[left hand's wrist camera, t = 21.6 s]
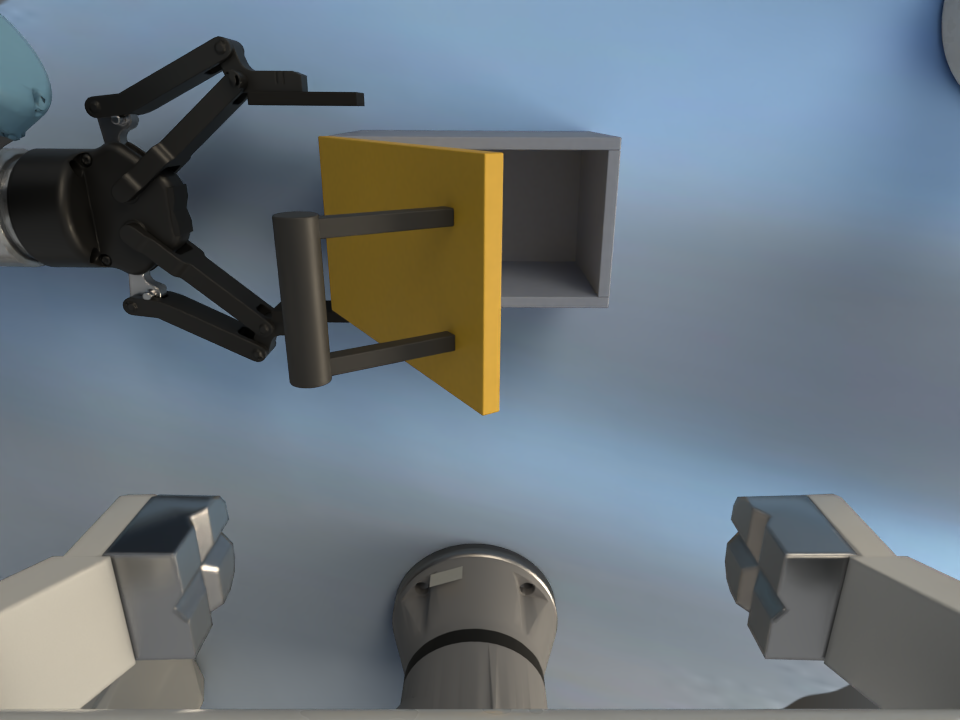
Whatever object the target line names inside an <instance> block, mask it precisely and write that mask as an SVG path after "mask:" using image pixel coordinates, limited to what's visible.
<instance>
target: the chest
mask: <svg viewBox="0 0 960 720" xmlns="http://www.w3.org/2000/svg"><path fill="white" fill-rule="evenodd" d="M330 136H336V137H346V138H357V139H367V140H377V141H388V142H398V143H408V144H419V145H429V146H439V147H450V148H460V149H470V150H481V151H491V152H501V153H503V207H502V267H501V307H525V308H608V305H609V294H610V281H611V268H612V255H613V242H614V229H615V216H616V203H617V190H618V177H619V164H620V152H621V151H620V149H621V137H616V136H611V135H606V134H601V133H595V132H590V131H390V130H360V131H354V132H348V133H342V134H336V135H330Z"/></svg>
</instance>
